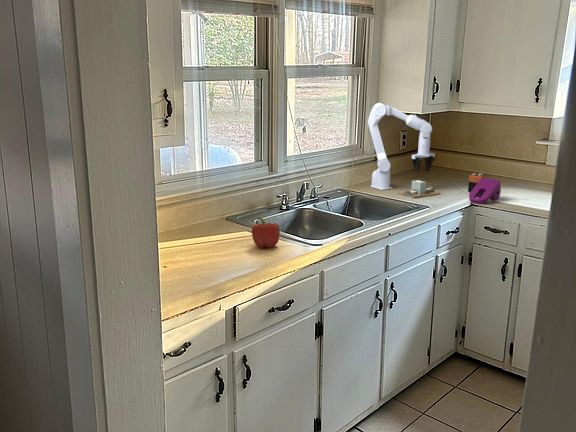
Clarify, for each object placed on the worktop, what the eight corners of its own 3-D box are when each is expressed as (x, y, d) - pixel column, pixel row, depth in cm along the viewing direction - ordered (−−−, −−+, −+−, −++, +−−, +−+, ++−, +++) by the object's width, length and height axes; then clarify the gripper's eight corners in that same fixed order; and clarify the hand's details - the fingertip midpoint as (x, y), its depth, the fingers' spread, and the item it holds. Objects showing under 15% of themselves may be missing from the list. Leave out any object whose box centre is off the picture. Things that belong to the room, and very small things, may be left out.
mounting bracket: (485, 216, 280) (501, 194, 290) (484, 202, 276) (500, 180, 285) (467, 212, 286) (483, 191, 296) (465, 198, 282) (481, 177, 291)
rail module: (411, 192, 297) (412, 180, 296) (416, 191, 299) (417, 179, 298) (419, 194, 292) (420, 182, 291) (425, 193, 295) (426, 182, 293)
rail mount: (398, 193, 296) (399, 188, 296) (424, 190, 306) (424, 184, 305) (414, 198, 287) (414, 192, 287) (440, 194, 297) (440, 188, 296)
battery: (480, 194, 298) (482, 175, 295) (467, 192, 302) (469, 173, 300) (483, 192, 301) (485, 173, 299) (471, 190, 305) (472, 172, 303)
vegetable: (245, 244, 214) (245, 218, 212) (269, 240, 220) (269, 214, 217) (261, 252, 206) (261, 225, 203) (285, 247, 211) (285, 221, 209)
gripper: (419, 147, 295) (417, 174, 298) (439, 145, 302) (437, 171, 306) (409, 145, 300) (407, 171, 304) (429, 143, 308) (427, 169, 312)
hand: (422, 171), depth 305 cm, fingers open, 7 cm apart
